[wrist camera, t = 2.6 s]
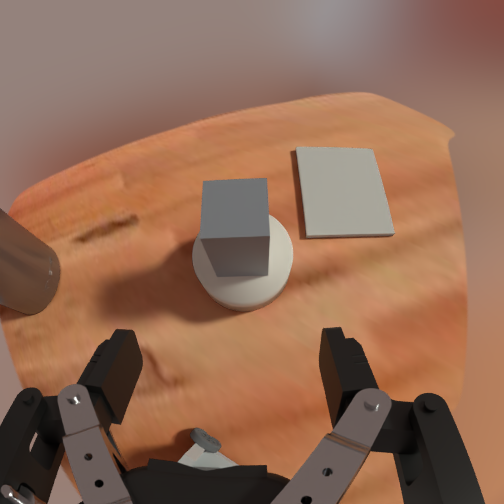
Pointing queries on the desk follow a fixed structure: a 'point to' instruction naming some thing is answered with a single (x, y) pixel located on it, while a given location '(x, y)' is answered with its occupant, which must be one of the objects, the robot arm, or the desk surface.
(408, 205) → the desk surface
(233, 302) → the white round part
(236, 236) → the cap block
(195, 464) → the toy car
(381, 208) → the rubber mat
